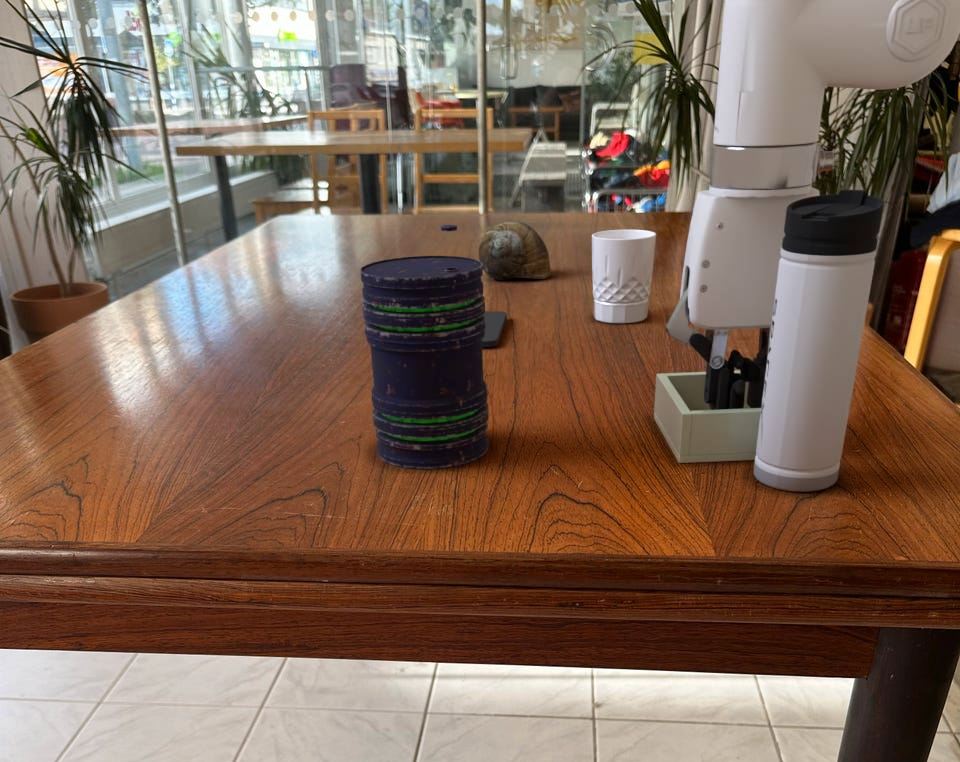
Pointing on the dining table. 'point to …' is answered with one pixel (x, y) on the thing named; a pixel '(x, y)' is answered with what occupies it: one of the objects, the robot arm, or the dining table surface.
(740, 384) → the wireless earbuds
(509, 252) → the seashell
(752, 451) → the box
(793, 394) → the travel mug
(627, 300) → the white cup
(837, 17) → the robot arm
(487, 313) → the phone
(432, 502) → the dining table surface
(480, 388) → the storage jar
